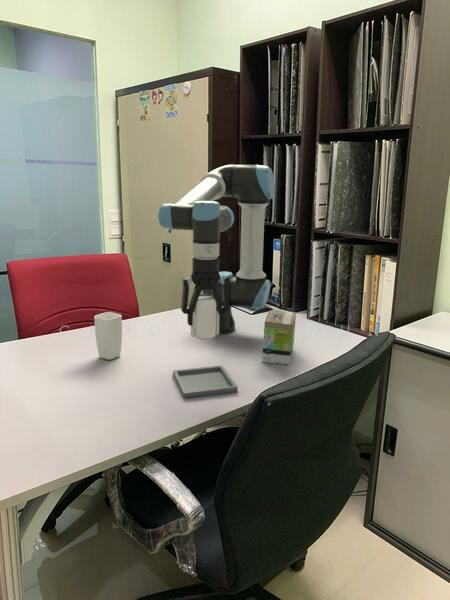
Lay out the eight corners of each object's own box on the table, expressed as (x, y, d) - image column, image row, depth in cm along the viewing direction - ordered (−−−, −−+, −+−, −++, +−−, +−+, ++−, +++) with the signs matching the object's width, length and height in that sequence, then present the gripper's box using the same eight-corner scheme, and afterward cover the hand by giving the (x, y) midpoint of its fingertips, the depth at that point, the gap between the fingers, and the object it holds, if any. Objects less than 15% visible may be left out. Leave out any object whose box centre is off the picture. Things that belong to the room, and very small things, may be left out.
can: (193, 332, 140) (193, 293, 136) (215, 332, 140) (215, 293, 137) (194, 339, 133) (194, 299, 130) (216, 339, 134) (217, 299, 131)
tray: (173, 375, 146) (173, 370, 146) (221, 370, 151) (221, 365, 150) (184, 399, 131) (184, 393, 131) (237, 392, 136) (237, 386, 136)
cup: (125, 356, 160) (123, 315, 156) (109, 363, 154) (107, 320, 150) (110, 351, 164) (108, 311, 160) (94, 357, 158) (92, 316, 154)
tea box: (290, 365, 156) (293, 324, 152) (261, 362, 158) (263, 321, 154) (293, 349, 170) (296, 311, 166) (266, 347, 172) (268, 308, 168)
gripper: (174, 260, 124) (174, 341, 130) (242, 258, 130) (240, 336, 136) (169, 255, 131) (169, 332, 137) (234, 253, 137) (232, 327, 143)
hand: (204, 334), depth 137 cm, fingers closed on can, 6 cm apart
